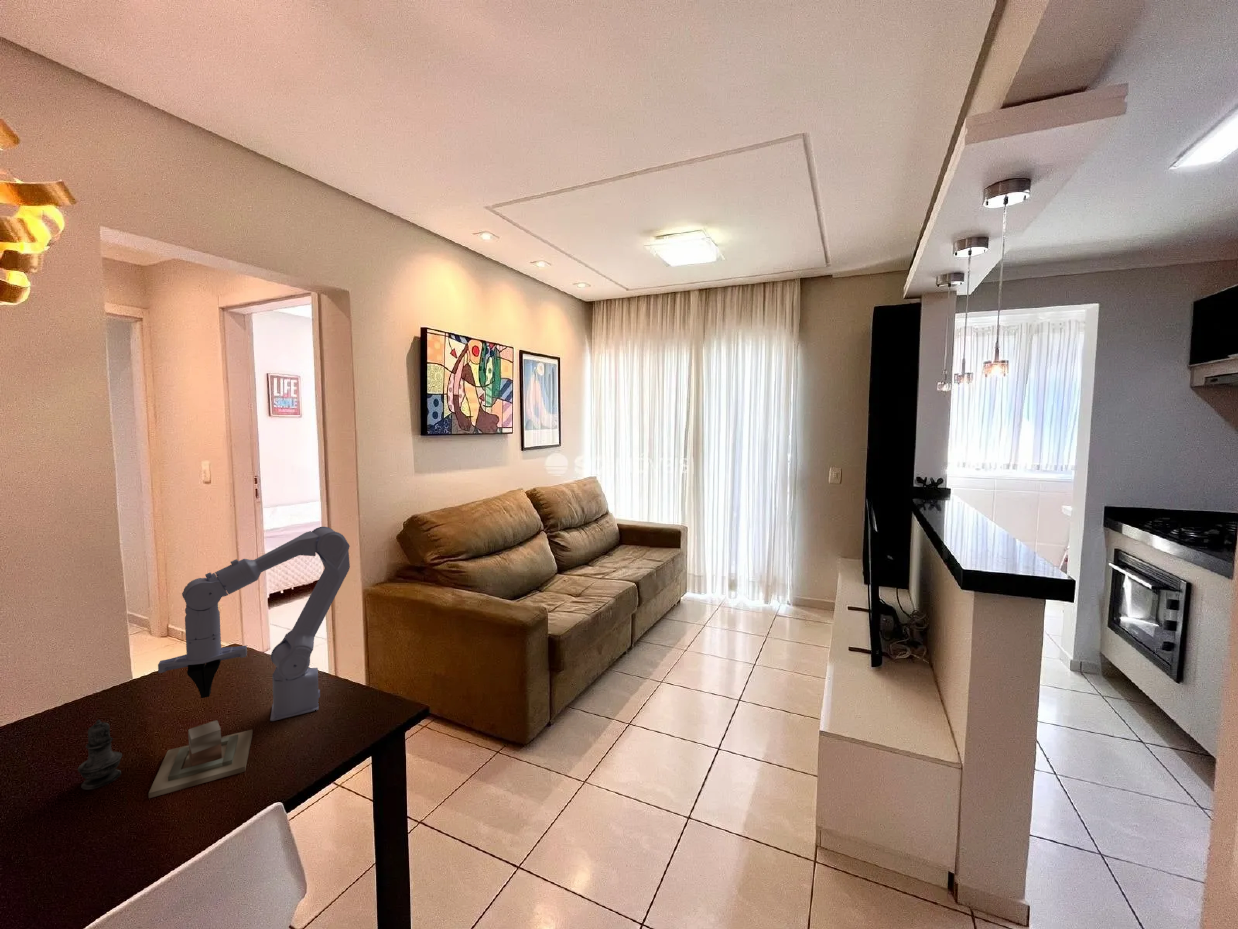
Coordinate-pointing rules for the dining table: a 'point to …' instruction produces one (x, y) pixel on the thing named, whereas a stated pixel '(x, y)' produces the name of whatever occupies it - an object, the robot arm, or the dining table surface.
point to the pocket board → (201, 765)
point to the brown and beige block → (205, 743)
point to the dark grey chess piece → (99, 758)
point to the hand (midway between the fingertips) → (205, 695)
